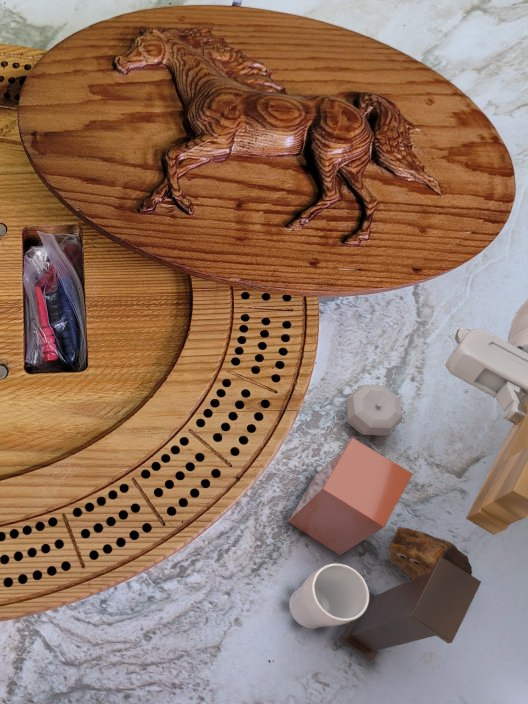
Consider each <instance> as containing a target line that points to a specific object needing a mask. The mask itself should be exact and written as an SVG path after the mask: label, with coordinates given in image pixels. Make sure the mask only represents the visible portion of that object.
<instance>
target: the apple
mask: <svg viewBox="0 0 528 704" xmlns="http://www.w3.org/2000/svg"><path fill="white" fill-rule="evenodd" d="M345 410H346V419H347V424H349V426H351V427H352V428H354V429H355V430H356V431H357V432H358V433H359V434H360V435H362V436H387V435H389V434H390V433H391V432H392V431H393V430H394V429H396V427H398V426H399V425H400V423H402V421H403V411H402V404H401V398H400V397H399V396H398V395H397V394H395V393H394V392H393V391H392V390H391V389H389V388H388V387H387V386H386V385H383V384H382V385H381V384H363V385H360V386H358V387H357V388H356V389H355V390H354V391H353V392H352V393H351V394H350V395H349V396H348V397H346V402H345Z"/></svg>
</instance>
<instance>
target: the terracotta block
mask: <svg viewBox="0 0 528 704" xmlns="http://www.w3.org/2000/svg"><path fill="white" fill-rule="evenodd" d="M413 474H414V473H413V472H411V471H410V470H408V469H406V468H404V467H403V466H401V465H399V464H398V463H396V462H394V461H392V460H391V459H390V458H388V457H386V456H384V455H382V454H381V453H379V452H378V451H376V450H374V449H373V448H371V447H369V446H367V445H365V444H364V443H363V442H360V441H359V440H357V439H355V438H354V437H351V438H350V439H349V440H348V441H347V443H345V444H344V445H343V446H342V447H341V449H339V451H337V453H335V455H334V456H333V457H332V458H331V459H330V460H329V461H328V462H327V463H326V464H325V465H324V466H322V468H321V469H320V470H319V471H318V472H317V473H316V474H315V475H314V477H313V478H312V479H311V481H310V483H309V485H308V486H307V488H306V490H305V491H304V493H303V495H302V497H301V498H300V500H299V502H298V504H297V505H296V507H295V509H294V510H293V511H292V513H291V515H290V517H289V518H288V520H287V522H288V523H289V524H290V525H292V526H294V527H295V528H296V529H299V530H300V531H302V532H303V533H305V534H306V535H307V536H309V537H311V538H312V539H313V540H315V541H317V542H318V543H320V544H321V545H323V546H325V547H326V548H328V549H330V550H331V551H333V552H334V553H335V554H337V555H338V556H341V555H342V554H345V553H346V552H348V551H349V550H350V549H352V548H354V547H355V546H357V545H358V544H360V543H361V542H363V541H365V540H366V539H368V538H369V537H371V536H372V535H374V534H376V533H377V532H379V531H380V530H382V529H384V528H385V526H386V524H387V523H388V521H389V520H390V517H391V516H392V514H393V512H394V510H395V508H396V506H397V504H398V502H399V501H400V499H401V497H402V495H403V493H404V492H405V490H406V488H407V486H408V484H409V482H410V480H411V479H412V477H413Z"/></svg>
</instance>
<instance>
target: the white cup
mask: <svg viewBox="0 0 528 704" xmlns="http://www.w3.org/2000/svg"><path fill="white" fill-rule="evenodd" d="M369 590H370V589H369V586H368V584H367V582H366V580H365V579H364V578H363V576H362V575H361V574H360V573H359V572H358V571H357V570H356V569H355V568H353V567H351V566H349V565H347V564H344V563H329V564H326V565H324V566H321V567H319V568H318V569H316V570H314V571H313V572H312V573H310V575H309V576H308V577H307V578H306V579H305V580H304V582H303V583H302V584H301V585H300V586H299V587H298V588H297V589H296V590H294V592H293V593H292V594H291V596H290V598H289V603H288V606H289V612H290V614H291V616H292V618H293V620H294V621H295V622H296V623H297V624H299V625H300V626H302V627H304V628H307V629H311V630H312V629H319V628H322V627H323V628H324V627H338V626H342V625H346V624H347V623H349V622H351V621H353V620H355V619H357V618H359V617H360V616H361V615H362V614H363V613H364V612H365V611H366V609H367V607H368V604H369V592H370V591H369Z"/></svg>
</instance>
